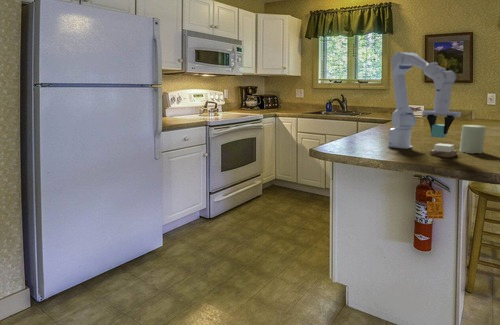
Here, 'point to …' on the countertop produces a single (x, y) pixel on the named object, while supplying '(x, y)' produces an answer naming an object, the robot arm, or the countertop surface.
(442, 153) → the walnut slab
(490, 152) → the countertop surface
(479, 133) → the can
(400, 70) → the robot arm
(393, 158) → the countertop surface
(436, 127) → the teal block
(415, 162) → the countertop surface
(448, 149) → the white block
